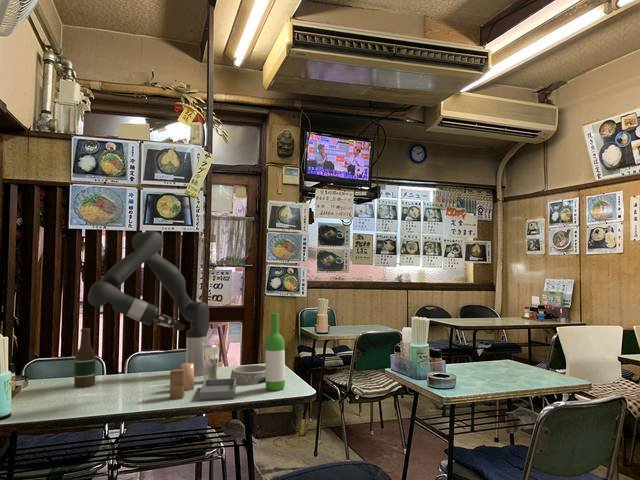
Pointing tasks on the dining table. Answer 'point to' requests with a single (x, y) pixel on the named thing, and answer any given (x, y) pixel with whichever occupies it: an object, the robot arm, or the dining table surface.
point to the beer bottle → (84, 362)
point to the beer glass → (210, 361)
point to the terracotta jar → (188, 376)
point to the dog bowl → (248, 374)
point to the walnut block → (177, 384)
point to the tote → (217, 389)
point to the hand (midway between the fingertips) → (182, 328)
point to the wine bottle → (274, 357)
